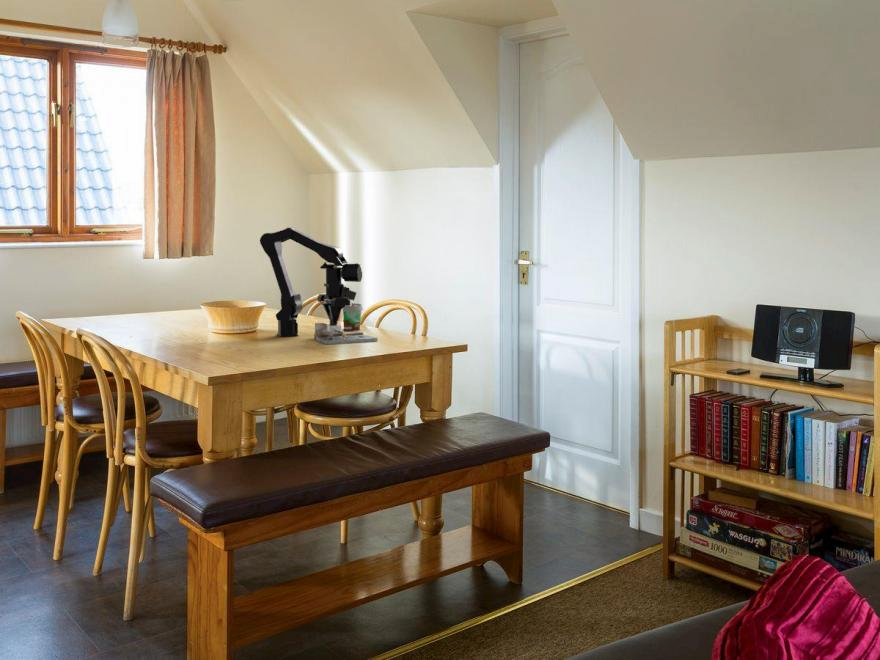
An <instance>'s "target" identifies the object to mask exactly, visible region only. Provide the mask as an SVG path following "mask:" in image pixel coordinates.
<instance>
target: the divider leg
mask: <svg viewBox="0 0 880 660" xmlns="http://www.w3.org/2000/svg"><path fill="white" fill-rule="evenodd" d="M338 321H339V320H338ZM338 321H337V323H336V324H334V323H333V320H332V316H331V313H330V320H329V324H328V323H326V324H327V331H330V332H333V334H342V337H345V334H346V332H347V331H344V330H342V325H341V324H339V323H338Z"/></svg>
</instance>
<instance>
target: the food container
mask: <svg viewBox="0 0 880 660" xmlns="http://www.w3.org/2000/svg"><path fill="white" fill-rule="evenodd" d="M363 310H364V308H363V305H362V303H351V304H350V306H345V307H343V308H342V313H343V315H342V316H343V331H345V332H359V331H360V330H361V319H362V311H363Z"/></svg>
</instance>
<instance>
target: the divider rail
mask: <svg viewBox="0 0 880 660" xmlns="http://www.w3.org/2000/svg"><path fill="white" fill-rule="evenodd" d="M327 324H328V323H325V322H314V335H313V338H314V339H316V337H329V338H333V336H342V334H333V332H330V331H327ZM345 332H346V334H345V336H351V335H364V332H362V331H345Z"/></svg>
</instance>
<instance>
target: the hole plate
mask: <svg viewBox="0 0 880 660" xmlns="http://www.w3.org/2000/svg"><path fill="white" fill-rule="evenodd" d="M315 342H318V343H321V344H323V345H339V344H341V345H342V344H352V343H353V344H356V343H357V344H358V343H370V342H371V343H372V342H378V337H375V336H373V335H370V334H363V335H351V336H345V337H342V336H333V338H329V337H316V338H315Z"/></svg>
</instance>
